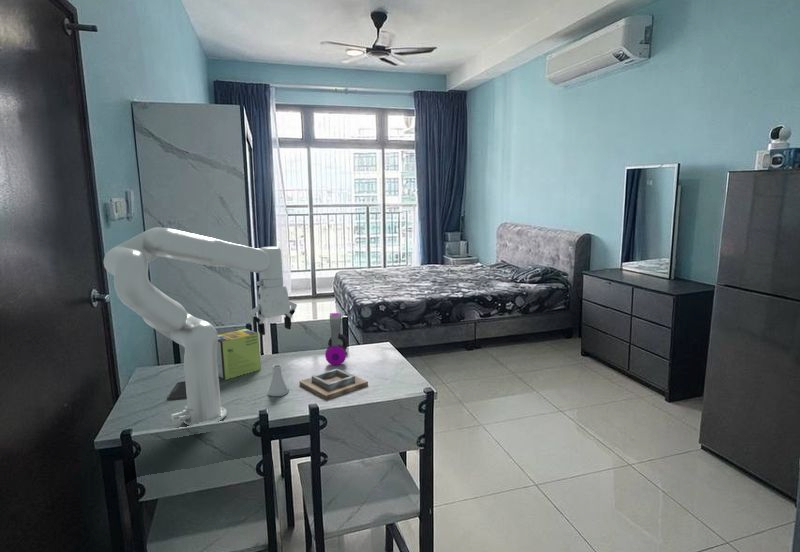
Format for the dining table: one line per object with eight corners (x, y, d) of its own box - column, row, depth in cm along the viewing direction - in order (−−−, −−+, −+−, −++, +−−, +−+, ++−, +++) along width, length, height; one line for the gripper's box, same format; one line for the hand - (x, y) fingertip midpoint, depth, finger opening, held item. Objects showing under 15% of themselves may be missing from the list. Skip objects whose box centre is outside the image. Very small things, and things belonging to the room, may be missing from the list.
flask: (283, 397, 159) (281, 370, 157) (264, 396, 160) (262, 369, 159) (292, 389, 166) (290, 363, 164) (273, 388, 167) (272, 362, 166)
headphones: (329, 351, 208) (327, 308, 205) (348, 350, 209) (347, 307, 206) (325, 367, 188) (322, 319, 185) (346, 366, 189) (344, 319, 185)
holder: (326, 399, 156) (325, 390, 156) (299, 385, 170) (299, 376, 169) (368, 385, 168) (367, 376, 168) (340, 372, 182) (339, 364, 181)
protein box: (261, 369, 187) (259, 332, 184) (225, 380, 176) (222, 341, 173) (248, 363, 194) (246, 328, 191) (212, 374, 183) (209, 336, 180)
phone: (199, 380, 174) (190, 396, 160) (200, 383, 175) (190, 399, 160) (177, 382, 173) (165, 398, 158) (177, 384, 173) (166, 401, 158)
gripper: (252, 287, 148) (256, 338, 151) (299, 280, 160) (302, 328, 163) (242, 285, 154) (246, 334, 157) (289, 278, 165) (292, 324, 168)
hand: (275, 331), depth 160 cm, fingers open, 9 cm apart
